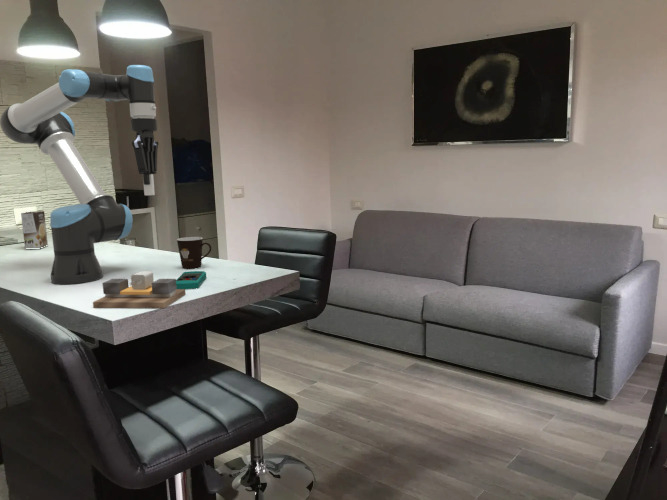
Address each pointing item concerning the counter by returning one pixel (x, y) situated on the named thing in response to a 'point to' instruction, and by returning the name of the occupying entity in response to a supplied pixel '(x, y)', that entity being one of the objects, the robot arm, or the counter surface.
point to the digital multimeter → (190, 280)
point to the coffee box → (34, 229)
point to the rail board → (160, 297)
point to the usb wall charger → (142, 280)
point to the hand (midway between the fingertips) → (149, 195)
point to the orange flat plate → (136, 291)
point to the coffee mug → (191, 251)
